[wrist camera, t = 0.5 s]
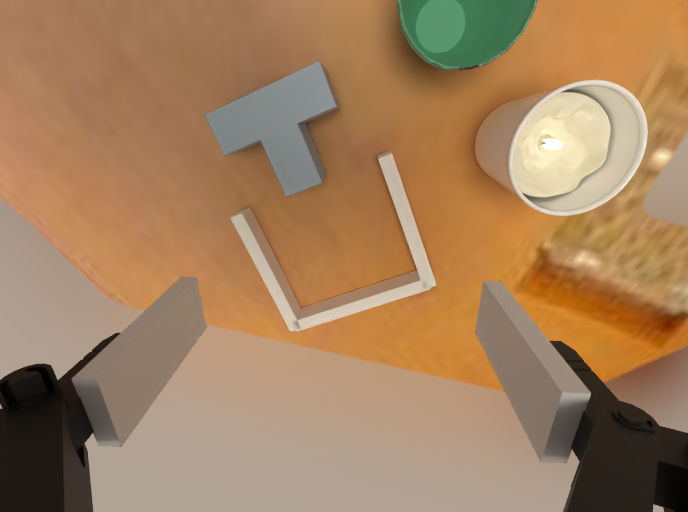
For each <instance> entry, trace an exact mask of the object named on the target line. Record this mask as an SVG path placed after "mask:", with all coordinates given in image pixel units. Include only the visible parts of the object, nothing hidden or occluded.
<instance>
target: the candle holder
mask: <svg viewBox="0 0 688 512" xmlns="http://www.w3.org/2000/svg"><path fill="white" fill-rule="evenodd" d="M647 136H648V128H647V121H646V116H645V113H644V111H643V108H642V106H641V105H640V103H639V102H638V100H637V99H636V98H635V97H634V95H633V94H632V93H630V92H629V91H628V90H627V89H625V88H623V87H622V86H620V85H618V84H615V83H612V82H609V81H603V80H583V81H578V82H574V83H570V84H567V85H565V86H562V87H559V88H555V89H552V90H548V91H544V92H540V93H537V94H533V95H529V96H525V97H522V98H518V99H515V100H512V101H509V102H506V103H504V104H502V105H500V106H499V107H497V108H496V109H494V110H493V111H492V112H491V113H490V114H489V115H488V116H487V117H486V118H485V119H484V121H483V122H482V124H481V125H480V127H479V129H478V132H477V135H476V138H475V156H476V159H477V162H478V164H479V166H480V167H481V169H482V170H483V171H484V172H485V173H486V174H487V175H488V176H489V177H491V178H492V179H493V180H495V181H496V182H497V183H499V184H500V185H502V186H503V187H505V188H506V189H507V190H509V191H510V192H512V193H513V194H515V195H516V196H517V197H519V198H520V199H521V200H522V201H523V202H525V203H526V204H527V205H528V206H530V207H531V208H533V209H535V210H537V211H539V212H542V213H545V214H550V215H557V216H567V215H575V214H580V213H583V212H587V211H589V210H592V209H594V208H596V207H598V206H600V205H602V204H604V203H605V202H607V201H608V200H610V199H611V198H613V197H614V196H615V195H616V194H617V193H619V192H620V191H621V190H622V189H623V188H624V187H625V186H626V184H627V183H628V182H629V181H630V180H631V178H632V177H633V175H634V174H635V172H636V171H637V169H638V167H639V165H640V163H641V161H642V158H643V156H644V153H645V149H646V144H647Z"/></svg>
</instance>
